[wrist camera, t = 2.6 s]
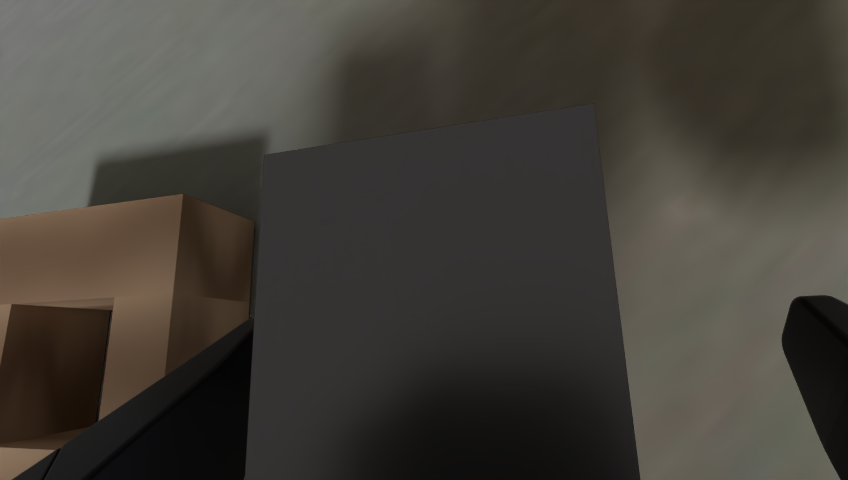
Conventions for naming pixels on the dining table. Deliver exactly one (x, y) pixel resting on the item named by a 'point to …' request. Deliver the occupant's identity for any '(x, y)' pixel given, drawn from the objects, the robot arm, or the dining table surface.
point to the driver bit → (440, 309)
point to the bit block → (108, 309)
